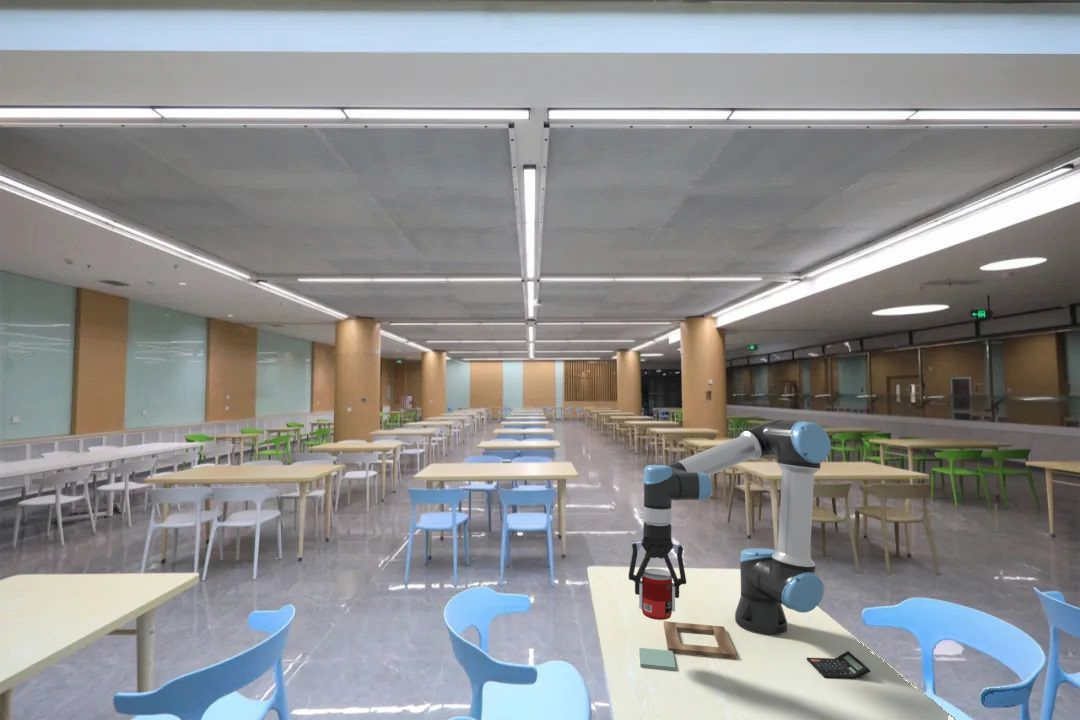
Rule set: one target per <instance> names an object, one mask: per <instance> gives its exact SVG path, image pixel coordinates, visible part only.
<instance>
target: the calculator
mask: <svg viewBox="0 0 1080 720" xmlns="http://www.w3.org/2000/svg"><path fill="white" fill-rule="evenodd" d="M806 661H807V662H808V663H809V664H810V665H811V666H812V667H813V668H814V669H815V670H816V671H817V672H818V673H819V674H820V675H821V676H822V677H823V678H824V679H840V680H841V679H842V680H845V679H846V680H857V679H859V678H861V677H864V676H866V675H867V674H869V673H871V670H870V668H868V667H867V666H866V665H865V663H863V662H862V661H861V660H859V659H858V658H857V657H856V656H855V655H854V654H852V653H851V652H850V651H849V650H846V651H845V652H844V653H842V654H840V655H838V656H836V657H834V658H832V657H829V658H828V657H826V658H824V657H806ZM856 678H857V679H856Z"/></svg>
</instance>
